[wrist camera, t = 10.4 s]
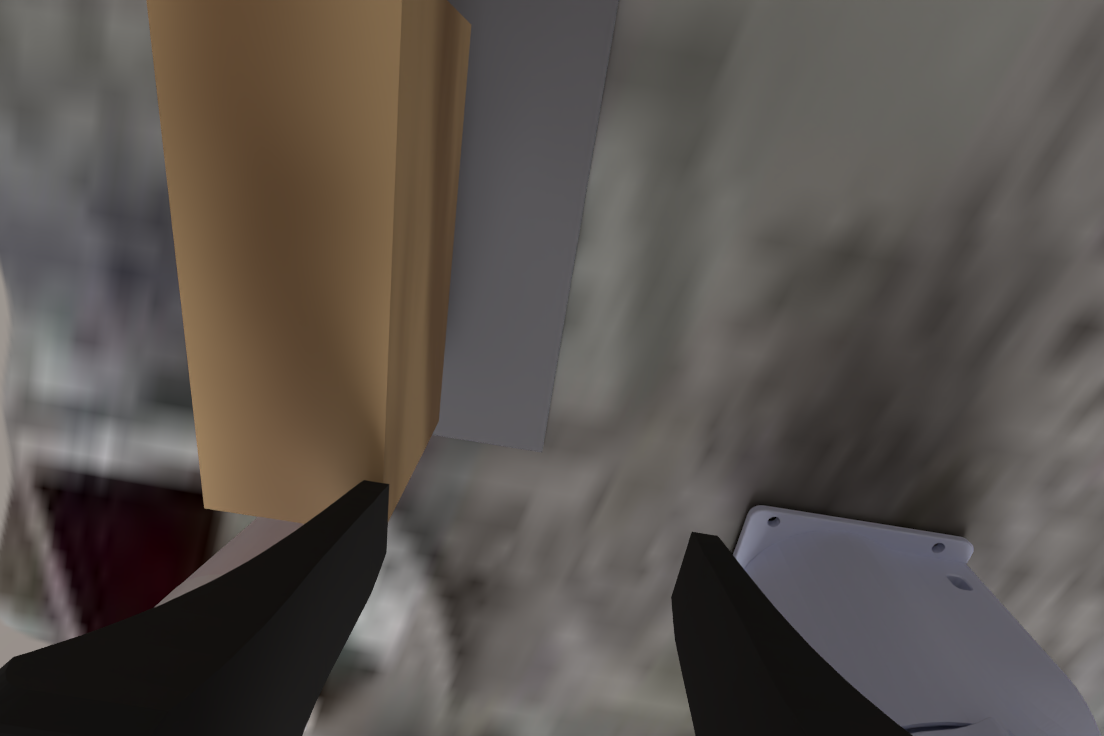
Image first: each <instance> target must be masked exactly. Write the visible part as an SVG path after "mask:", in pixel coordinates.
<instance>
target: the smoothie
mask: <svg viewBox="0 0 1104 736" xmlns="http://www.w3.org/2000/svg"><path fill="white" fill-rule="evenodd" d="M302 525H304V524H302V523H296V522H289V521H283V520H277V519H270V518H264V517H257V518H256V519H255V520H254V521H253V522H252V523H250V524H249V525H248V526H247V527H246V528H245V529H244V530H242V531H241V532H240V533H239V534H238V535H237V536H236V537H234V538H233V539H232V540H231V541H230V542H229V543H228V544H226V545H225V546H224V547H223V548H222V549H221V550H220V551H218V552H217V553H216V554H215V555H214V556H213V557H212V558H210V559H209V560H208V561H207V562H206V563H205V564H203V565H202V566H201V567H200V568H199V569H198V570H197V571H195V572H194V573H193V574H192V575H191V576H190V577H189V578H187V579H186V580H185V581H184V582H183V583H182V584H181V585H179V586H178V587H177V588H175V589H174V590H173V591H172V592H171V593H170V594H169V595H168V596H166V597H165V598H164V599H163V600H162V601H161V602H160V603H159V604H158V605H156V606H155V607H157V606H159V605H161V604H164V603H166V602H168V601H170V600H172V599H174V598H176V597H179V596H181V595H183V594H185V593H187V592H189V591H191V590H194V589H196V588H198V587H200V586H202V585H204V584H206V583H208V582H210V581H212V580H214V579H216V578H218V577H220V576H222V575H224V574H225V573H227V572H229V571H231V570H233V569H235V568H237V567H238V566H240V565H242V564H244V563H245V562H247V561H249V560H251V559H252V558H254V557H256V556H257V555H259V554H260V553H262V552H264V551H265V550H267V549H268V548H270V547H271V546H273V545H274V544H276V543H277V542H279V541H280V540H282V539H283V538H285V537H287V536H288V535H290V534H291V533H292V532H294V531H295V530H297V529H298V528H300V527H301V526H302ZM308 721H309V720H308ZM307 724H308V723H307ZM306 728H307V725H306V727H305V730H306ZM305 730H304V731H305Z"/></svg>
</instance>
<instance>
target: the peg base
mask: <svg viewBox="0 0 1104 736" xmlns="http://www.w3.org/2000/svg"><path fill="white" fill-rule="evenodd" d="M447 1H448V2H449V3H450V4H451V5H452V6H453V7H454V8H455V9H456V10H457V11H458V12H459V13H460V14H461V15H462V16H463V17H464V18H465V19H466V20H467V21H468V22H469V23H470V24H471V36H470V48H469V60H468V72H467V85H466V97H465V109H464V121H463V133H462V145H461V158H460V170H459V182H458V194H457V206H456V218H455V231H454V243H453V255H452V267H451V279H450V292H449V304H448V316H447V328H446V340H445V352H444V365H443V377H442V389H441V401H440V413H439V422H438V424H437V426H436V428H435V430H434V432H433V434H432V435H436V436H443V437H449V438H455V439H462V440H468V441H474V442H480V443H487V444H493V445H499V446H505V447H512V448H518V449H524V450H531V451H537V452H542V450H543V444H544V438H545V432H546V426H547V420H548V414H549V409H550V403H551V397H552V391H553V385H554V379H555V373H556V367H557V361H558V356H559V350H560V344H561V338H562V332H563V326H564V320H565V314H566V308H567V303H568V297H569V291H570V285H571V279H572V273H573V267H574V261H575V255H576V250H577V244H578V238H579V232H580V226H581V220H582V214H583V208H584V203H585V197H586V191H587V185H588V179H589V173H590V167H591V161H592V155H593V150H594V144H595V138H596V132H597V126H598V120H599V114H600V108H601V102H602V97H603V91H604V85H605V79H606V73H607V67H608V61H609V55H610V49H611V44H612V38H613V32H614V26H615V20H616V14H617V8H618V2H619V0H447Z"/></svg>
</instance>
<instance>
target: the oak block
mask: <svg viewBox="0 0 1104 736" xmlns="http://www.w3.org/2000/svg"><path fill="white" fill-rule="evenodd" d="M147 8H148V17H149V26H150V35H151V43H152V52H153V61H154V70H155V79H156V87H157V96H158V105H159V114H160V122H161V131H162V140H163V149H164V158H165V166H166V175H167V184H168V193H169V201H170V210H171V219H172V228H173V237H174V245H175V254H176V263H177V272H178V280H179V289H180V298H181V307H182V316H183V324H184V333H185V342H186V351H187V359H188V368H189V377H190V386H191V395H192V403H193V412H194V421H195V430H196V438H197V447H198V456H199V465H200V474H201V482H202V491H203V500H204V508H206V509H213V510H219V511H225V512H232V513H238V514H245V515H251V516H257V517H264V518H270V519H277V520H283V521H289V522H296V523H302V524H305V523H307V522H308V521H309V520H311V519H312V518H313V517H315V516H316V515H318V514H319V513H320V512H322V511H323V510H324V509H326V508H327V507H328V506H330V505H331V504H332V503H334V502H335V501H336V500H338V499H339V498H340V497H342V496H343V495H344V494H345V493H347V492H348V491H349V490H351V489H352V488H353V487H355V486H356V485H357V484H359V483H360V482H362V481H363V480H367V481H373V482H379V483H386V484H389V505H388V521H389V519H390V517H391V515H392V513H393V511H394V509H395V507H396V505H397V503H398V501H399V499H400V497H401V495H402V493H403V491H404V489H405V487H406V485H407V483H408V481H409V479H410V477H411V475H412V473H413V472H414V470H415V468H416V466H417V464H418V462H419V460H420V458H421V456H422V454H423V452H424V450H425V448H426V446H427V444H428V442H429V440H430V438H431V436H432V434H433V432H434V430H435V428H436V426H437V424H438V422H439V413H440V401H441V389H442V377H443V365H444V352H445V340H446V328H447V316H448V304H449V292H450V279H451V267H452V255H453V243H454V231H455V218H456V206H457V194H458V182H459V170H460V158H461V145H462V133H463V121H464V109H465V97H466V85H467V72H468V60H469V48H470V36H471V24H470V23H469V22H468V21H467V20H466V19H465V18H464V17H463V16H462V15H461V14H460V13H459V12H458V11H457V10H456V9H455V8H454V7H453V6H452V5H451V4H450V3H449V2H448V1H447V0H147Z"/></svg>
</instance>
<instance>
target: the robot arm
mask: <svg viewBox="0 0 1104 736" xmlns="http://www.w3.org/2000/svg"><path fill="white" fill-rule="evenodd" d="M388 505H389V484H386V483H379V482H373V481H367V480H363V481H362V482H360V483H359V484H357V485H356V486H355V487H353V488H352V489H351V490H349V491H348V492H347V493H345V494H344V495H343V496H342V497H340V498H339V499H338V500H336V501H335V502H334V503H332V504H331V505H330V506H328V507H327V508H326V509H324V510H323V511H322V512H320V513H319V514H318V515H316V516H315V517H313V518H312V519H311V520H309V521H308V522H307V523H305V524H304V525H302V526H301V527H300V528H298V529H297V530H295V531H294V532H292V533H291V534H290V535H288V536H287V537H285V538H283V539H282V540H280V541H279V542H277V543H276V544H274V545H273V546H271V547H270V548H268V549H267V550H265V551H264V552H262V553H260V554H259V555H257V556H256V557H254V558H252V559H251V560H249V561H247V562H245V563H244V564H242V565H240V566H238V567H237V568H235V569H233V570H231V571H229V572H227V573H225V574H224V575H222V576H220V577H218V578H216V579H214V580H212V581H210V582H208V583H206V584H204V585H202V586H200V587H198V588H196V589H194V590H191V591H189V592H187V593H185V594H183V595H181V596H179V597H176V598H174V599H172V600H170V601H168V602H166V603H164V604H161V605H159V606H157V607H154V608H152V609H150V610H147V611H145V612H142V613H140V614H137V615H135V616H133V617H130V618H127V619H125V620H122V621H120V622H117V623H114V624H112V625H109V626H106V627H104V628H101V629H98V630H96V631H93V632H90V633H87V634H84V635H81V636H78V637H75V638H72V639H69V640H66V641H63V642H60V643H57V644H54V645H50V646H47V647H44V648H41V649H38V650H35V651H32V652H29V653H26V654H22V655H19V656H16V657H13V658H12V659H11V660H10V661H9V662H7V663H6V664H5V665H4V666H3V667H2V668H0V736H302V735H303V732H304V730H305V727H306V725H307V723H308V720H309V718H310V715H311V713H312V710H313V708H314V705H315V703H316V701H317V699H318V697H319V694H320V692H321V690H322V688H323V686H324V684H325V682H326V680H327V678H328V676H329V674H330V672H331V670H332V668H333V666H334V664H335V662H336V661H337V659H338V657H339V655H340V653H341V651H342V649H343V647H344V645H345V643H346V641H347V639H348V637H349V635H350V634H351V632H352V630H353V628H354V626H355V624H356V622H357V620H358V618H359V616H360V614H361V612H362V610H363V608H364V606H365V604H366V602H367V600H368V598H369V596H370V594H371V592H372V590H373V587H374V585H375V582H376V579H377V577H378V574H379V571H380V569H381V566H382V563H383V560H384V558H385V555H386V549H387V527H388ZM771 517H777V518H776V519H775V520H773V521H768V520H769V518H771ZM937 543H938V544H937ZM935 544H937V545H936V546H934V545H935ZM973 550H974V547H973V545H972V544H971V543H970V542H969V541H968V540H967V539H966V538H964V537H960V536H954V535H948V534H941V533H935V532H929V531H922V530H916V529H910V528H904V527H897V526H891V525H885V524H878V523H872V522H866V521H859V520H853V519H847V518H841V517H834V516H828V515H822V514H815V513H809V512H803V511H796V510H790V509H784V508H778V507H771V506H765V505H758V506H755V507H753V508H751V509H750V511H749V512H748V514H747V517H746V520H745V523H744V525H743V528H742V531H741V534H740V537H739V539H738V542H737V545H736V548H735V551H734V553H733V555H732V553H731V552H730V551H729V550H728V548H727V547H726V546H725V545H724V543H723V542H722V541H721V540H720V538H719V537H718V536H715V535H708V534H702V533H696V532H692V533H691V536H690V539H689V543H688V546H687V549H686V552H685V555H684V559H683V562H682V565H681V568H680V571H679V575H678V578H677V581H676V584H675V587H674V591H673V594H672V597H671V599H672V612H673V624H674V634H675V642H676V647H677V652H678V656H679V661H680V666H681V671H682V675H683V680H684V684H685V689H686V694H687V698H688V703H689V707H690V712H691V717H692V721H693V726H694V730H695V735H696V736H1101V734H1100V731H1099V729H1098V726H1097V724H1096V721H1095V719H1094V717H1093V715H1092V713H1091V711H1090V709H1089V707H1088V705H1087V703H1086V702H1085V700H1084V699H1083V697H1082V696H1081V694H1080V692H1079V691H1078V689H1077V688H1076V687H1075V685H1074V684H1073V683H1072V682H1071V680H1070V679H1069V678H1068V677H1067V676H1066V674H1065V673H1064V672H1063V671H1062V670H1061V669H1060V668H1059V667H1058V665H1057V664H1056V663H1055V662H1054V661H1053V660H1052V659H1051V658H1050V657H1049V655H1048V654H1047V653H1046V652H1045V651H1044V650H1043V649H1042V648H1041V647H1040V645H1039V644H1038V643H1037V642H1036V641H1035V640H1034V639H1033V638H1032V637H1031V635H1030V634H1029V633H1028V632H1027V631H1026V630H1025V629H1024V628H1023V627H1022V625H1021V624H1020V623H1019V622H1018V621H1017V620H1016V619H1015V618H1014V617H1013V615H1012V614H1011V613H1010V612H1009V611H1008V610H1007V609H1006V608H1005V607H1004V605H1003V604H1002V603H1001V602H1000V601H999V600H998V599H997V598H996V597H995V596H994V594H993V593H992V592H991V591H990V590H989V589H988V588H987V587H986V586H985V584H984V583H983V582H982V581H981V580H980V579H979V578H978V577H977V576H976V574H975V573H974V572H973V571H972V570H971V569H970V568H969V567H968V566H967V562H968V560H969V558H970V557H971V555H972V553H973Z"/></svg>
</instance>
